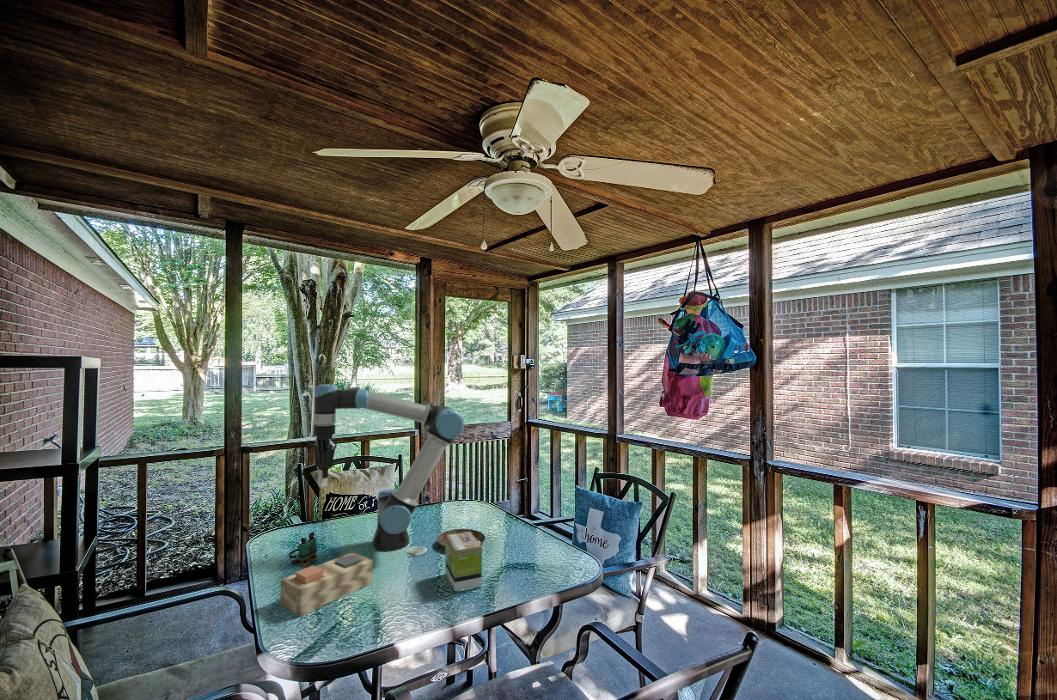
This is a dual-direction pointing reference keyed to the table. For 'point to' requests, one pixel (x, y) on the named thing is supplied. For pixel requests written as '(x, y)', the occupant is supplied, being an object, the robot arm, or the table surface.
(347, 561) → the gray block
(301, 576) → the terracotta plunger
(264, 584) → the table surface
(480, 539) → the plant saucer
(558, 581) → the table surface
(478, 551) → the tea box
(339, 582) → the frame
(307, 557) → the binoculars
